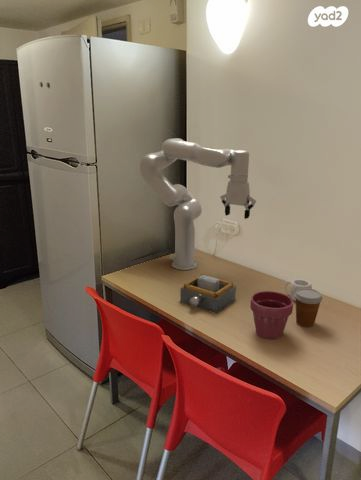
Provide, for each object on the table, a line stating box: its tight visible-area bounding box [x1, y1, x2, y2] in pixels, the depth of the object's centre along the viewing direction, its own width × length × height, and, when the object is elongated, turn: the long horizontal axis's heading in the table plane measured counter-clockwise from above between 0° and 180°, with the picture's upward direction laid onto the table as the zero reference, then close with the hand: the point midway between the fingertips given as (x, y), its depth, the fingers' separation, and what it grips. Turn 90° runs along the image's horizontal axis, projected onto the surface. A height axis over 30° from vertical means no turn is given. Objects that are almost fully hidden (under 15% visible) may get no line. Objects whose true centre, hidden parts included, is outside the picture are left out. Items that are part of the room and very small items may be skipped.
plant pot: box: [249, 290, 294, 340], centre depth 136 cm, size 14×14×13 cm
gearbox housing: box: [179, 274, 237, 315], centre depth 158 cm, size 17×19×8 cm
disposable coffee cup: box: [295, 288, 323, 328], centre depth 142 cm, size 10×10×12 cm
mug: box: [284, 278, 313, 302], centre depth 162 cm, size 12×8×8 cm
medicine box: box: [198, 274, 220, 293], centre depth 159 cm, size 8×4×9 cm, turn 56°
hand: (236, 216), depth 178 cm, fingers open, 9 cm apart
